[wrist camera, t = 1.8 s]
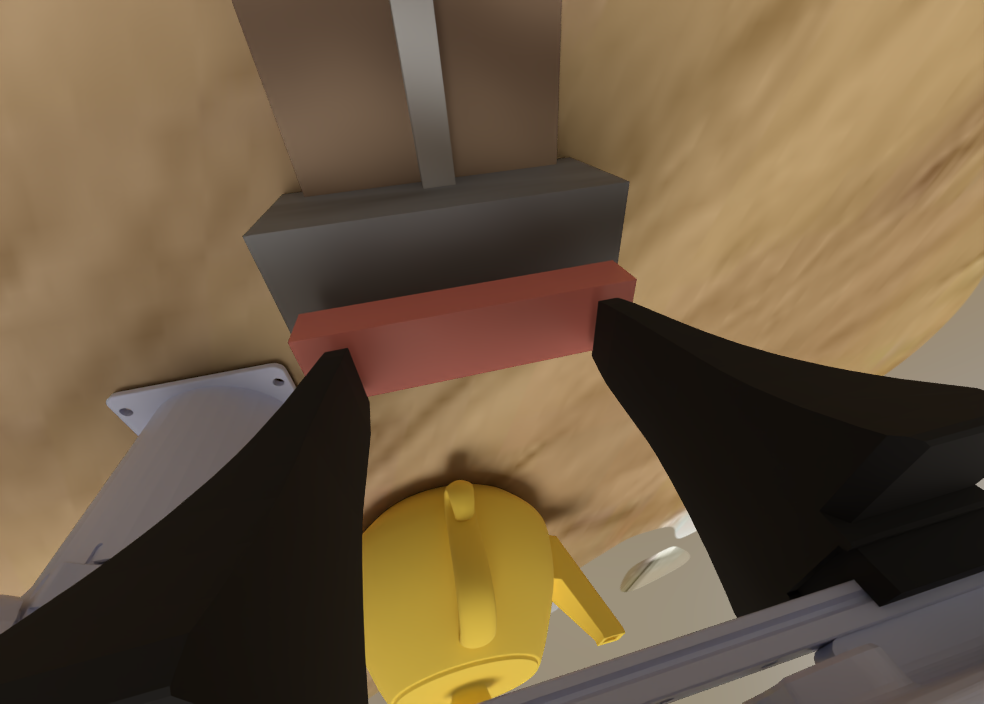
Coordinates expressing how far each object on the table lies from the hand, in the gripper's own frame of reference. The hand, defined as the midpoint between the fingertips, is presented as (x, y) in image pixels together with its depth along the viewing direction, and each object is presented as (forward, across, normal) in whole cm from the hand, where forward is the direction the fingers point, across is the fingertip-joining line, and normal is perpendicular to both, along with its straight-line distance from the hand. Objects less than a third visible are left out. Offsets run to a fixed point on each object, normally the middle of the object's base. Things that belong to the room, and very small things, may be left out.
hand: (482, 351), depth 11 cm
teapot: (+8, +2, +24) cm, 26 cm away
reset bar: (+2, 0, 0) cm, 2 cm away
